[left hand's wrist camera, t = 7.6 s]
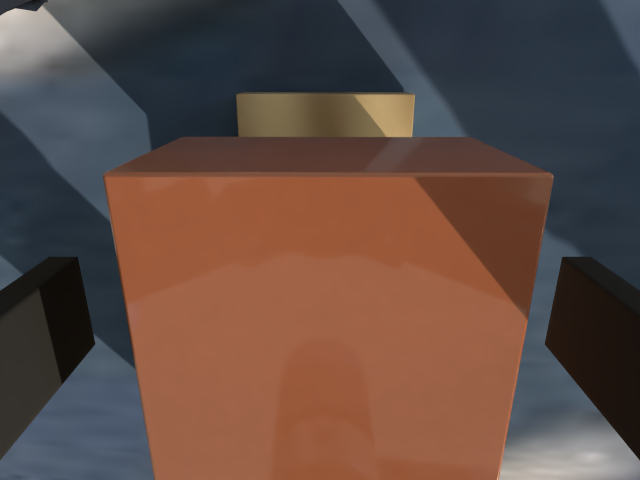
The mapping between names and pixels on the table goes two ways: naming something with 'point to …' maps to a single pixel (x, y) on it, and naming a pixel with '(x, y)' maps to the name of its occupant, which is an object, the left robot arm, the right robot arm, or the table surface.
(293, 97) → the beige stand
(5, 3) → the toy
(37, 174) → the table surface
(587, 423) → the table surface
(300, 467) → the cap block
